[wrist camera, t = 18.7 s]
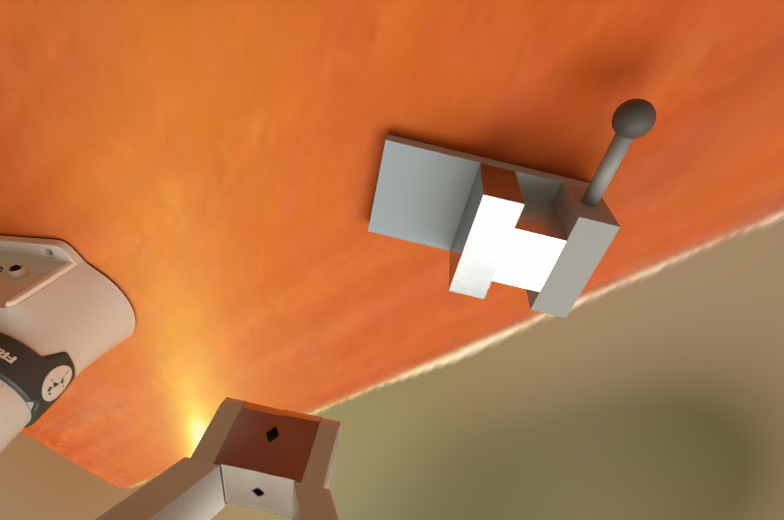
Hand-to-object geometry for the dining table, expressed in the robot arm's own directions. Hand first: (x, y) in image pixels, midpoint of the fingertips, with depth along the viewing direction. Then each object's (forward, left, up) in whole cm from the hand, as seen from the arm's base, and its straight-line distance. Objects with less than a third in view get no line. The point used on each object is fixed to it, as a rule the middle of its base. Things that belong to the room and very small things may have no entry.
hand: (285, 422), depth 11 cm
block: (+12, -7, -28) cm, 31 cm away
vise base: (+8, -3, -29) cm, 30 cm away
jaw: (+9, -7, -28) cm, 29 cm away
